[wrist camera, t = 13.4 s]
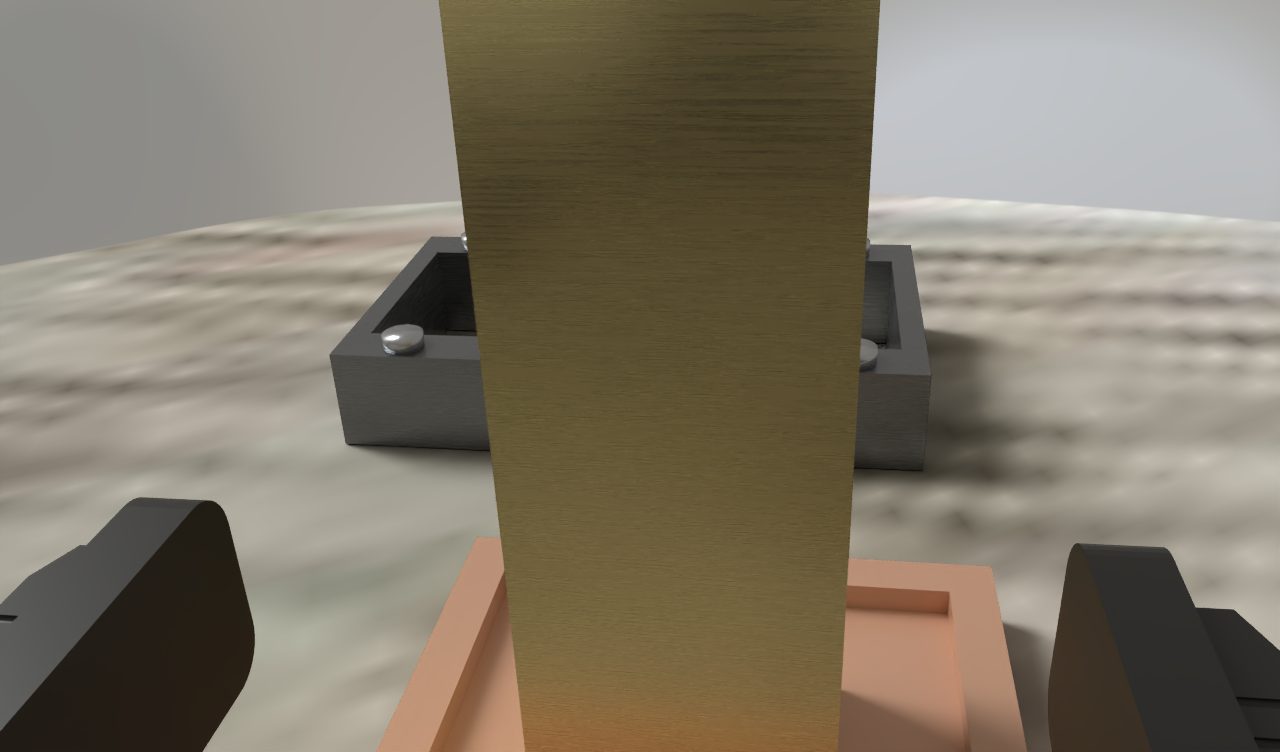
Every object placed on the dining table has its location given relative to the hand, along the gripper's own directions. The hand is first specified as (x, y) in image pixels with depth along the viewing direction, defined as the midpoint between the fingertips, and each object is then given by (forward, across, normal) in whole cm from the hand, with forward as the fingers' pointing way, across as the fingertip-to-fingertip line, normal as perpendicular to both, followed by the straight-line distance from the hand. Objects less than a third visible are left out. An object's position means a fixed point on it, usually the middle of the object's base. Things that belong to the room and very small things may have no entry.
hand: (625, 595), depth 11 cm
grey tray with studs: (+24, +4, +10) cm, 27 cm away
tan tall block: (+7, 0, +10) cm, 12 cm away
